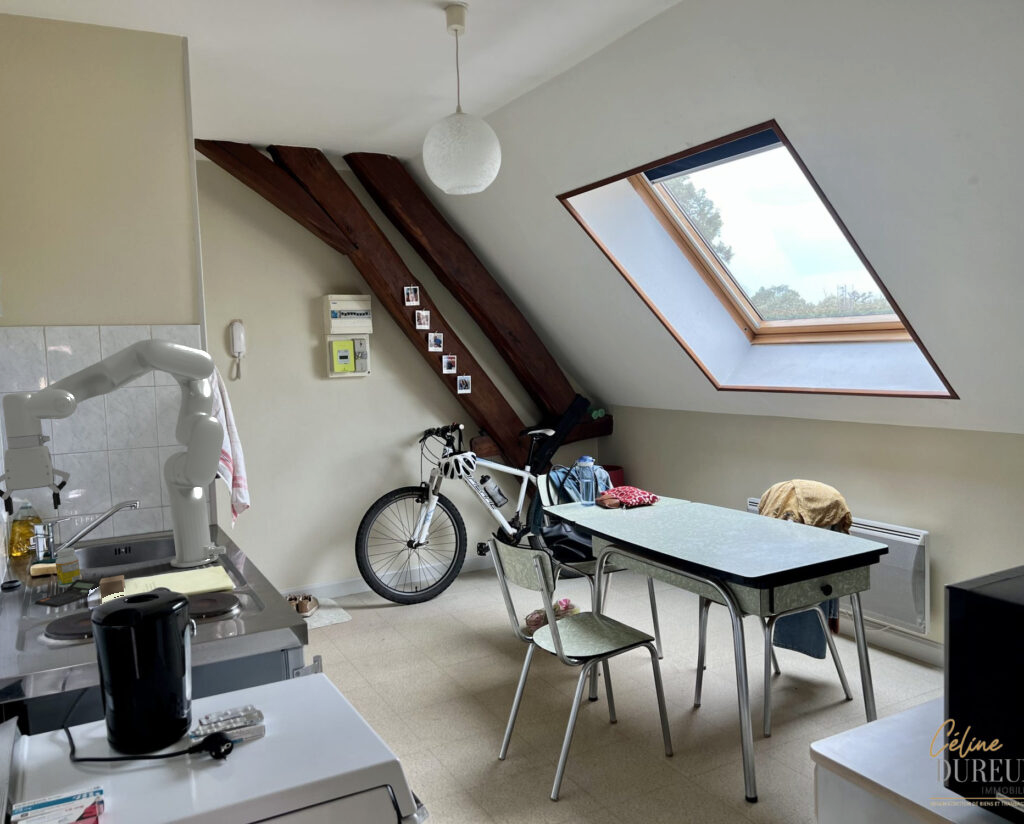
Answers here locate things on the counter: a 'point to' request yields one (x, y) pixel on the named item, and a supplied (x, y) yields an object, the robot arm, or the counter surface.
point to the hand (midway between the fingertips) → (34, 511)
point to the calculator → (70, 594)
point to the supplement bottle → (67, 567)
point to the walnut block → (112, 585)
